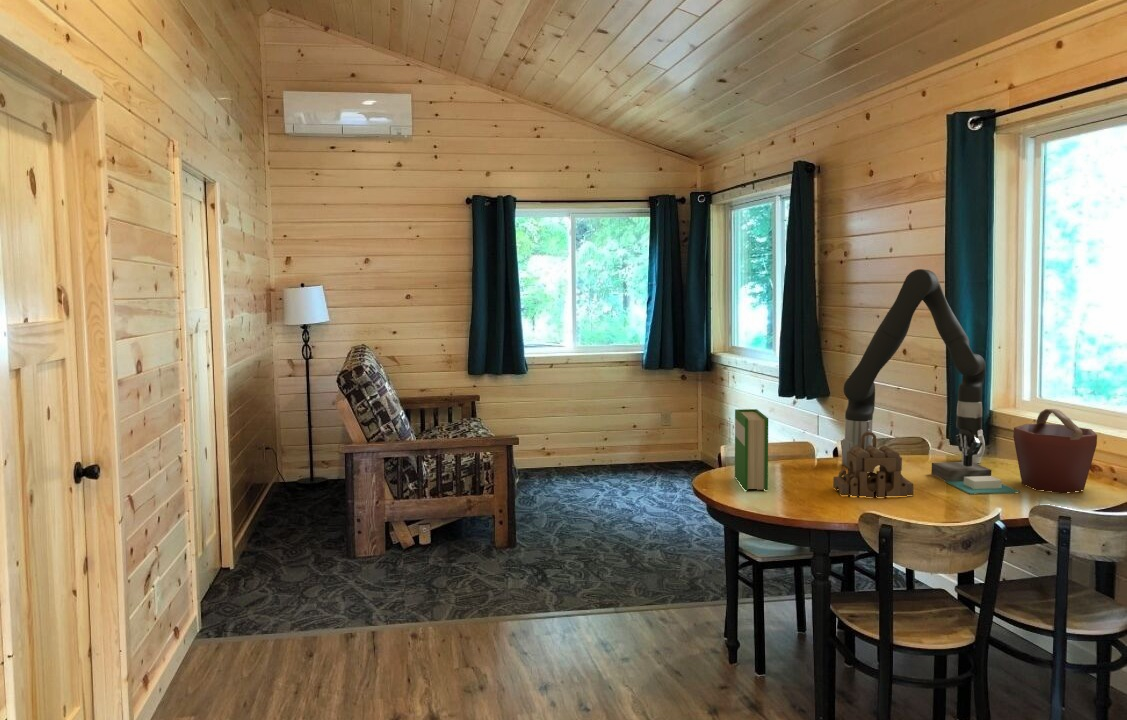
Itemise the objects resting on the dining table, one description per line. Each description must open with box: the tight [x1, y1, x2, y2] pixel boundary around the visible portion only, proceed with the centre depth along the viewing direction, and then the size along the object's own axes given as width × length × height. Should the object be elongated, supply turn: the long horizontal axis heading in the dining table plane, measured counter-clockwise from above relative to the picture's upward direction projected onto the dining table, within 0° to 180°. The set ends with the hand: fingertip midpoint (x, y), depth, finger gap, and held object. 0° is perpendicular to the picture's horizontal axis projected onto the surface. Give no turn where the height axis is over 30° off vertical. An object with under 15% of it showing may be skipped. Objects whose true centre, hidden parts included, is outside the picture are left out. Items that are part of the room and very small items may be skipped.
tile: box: [964, 475, 1003, 489], centre depth 258 cm, size 9×6×2 cm, turn 93°
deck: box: [930, 461, 992, 482], centre depth 270 cm, size 14×12×4 cm
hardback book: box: [734, 408, 769, 491], centre depth 265 cm, size 18×7×24 cm, turn 178°
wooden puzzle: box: [832, 431, 914, 498], centre depth 254 cm, size 22×15×19 cm, turn 87°
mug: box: [961, 428, 986, 464], centre depth 291 cm, size 10×7×12 cm, turn 9°
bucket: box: [1012, 408, 1098, 494], centre depth 256 cm, size 24×22×25 cm
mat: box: [944, 481, 1021, 495], centre depth 258 cm, size 16×15×1 cm
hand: (967, 465), depth 266 cm, fingers closed
